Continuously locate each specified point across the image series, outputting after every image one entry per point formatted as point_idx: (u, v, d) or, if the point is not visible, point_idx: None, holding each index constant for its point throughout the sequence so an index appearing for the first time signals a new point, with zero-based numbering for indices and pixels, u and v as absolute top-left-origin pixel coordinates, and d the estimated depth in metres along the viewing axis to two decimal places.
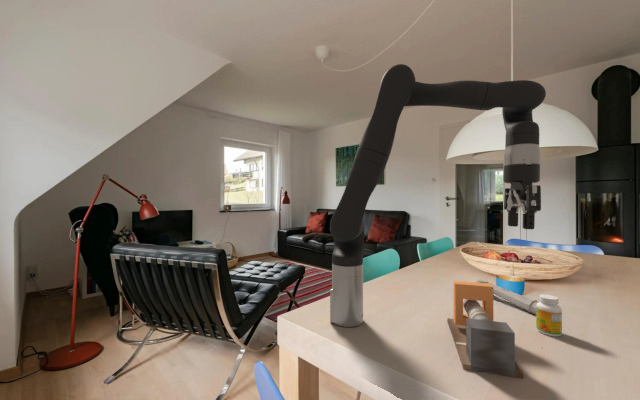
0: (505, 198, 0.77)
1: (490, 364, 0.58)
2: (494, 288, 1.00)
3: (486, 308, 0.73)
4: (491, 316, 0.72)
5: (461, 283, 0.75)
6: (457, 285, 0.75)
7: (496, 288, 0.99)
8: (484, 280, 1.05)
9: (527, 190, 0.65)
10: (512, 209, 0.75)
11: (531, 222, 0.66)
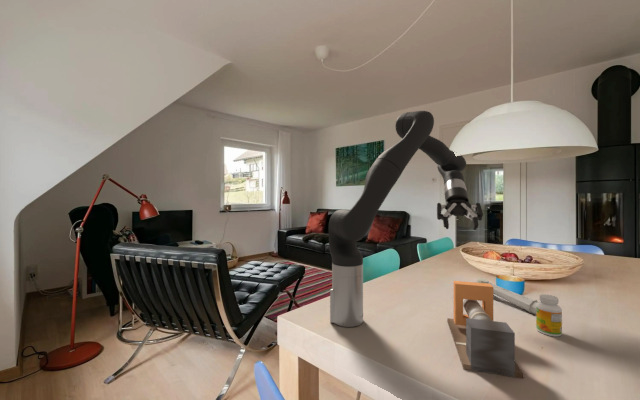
0: (439, 208, 0.98)
1: (490, 364, 0.58)
2: (494, 288, 1.00)
3: (486, 308, 0.73)
4: (491, 316, 0.72)
5: (461, 283, 0.75)
6: (457, 285, 0.75)
7: (496, 288, 0.99)
8: (484, 280, 1.05)
9: (478, 205, 0.96)
10: None
11: None
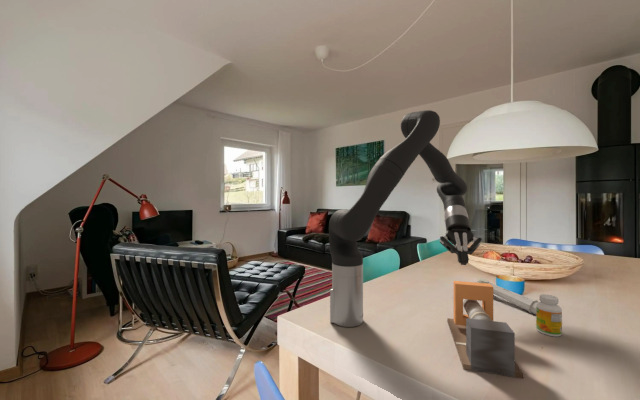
0: (447, 242, 0.91)
1: (490, 364, 0.58)
2: (495, 288, 1.00)
3: (486, 308, 0.73)
4: (491, 316, 0.72)
5: (461, 283, 0.75)
6: (457, 285, 0.75)
7: (497, 288, 0.99)
8: (485, 280, 1.05)
9: (478, 240, 0.89)
10: None
11: None
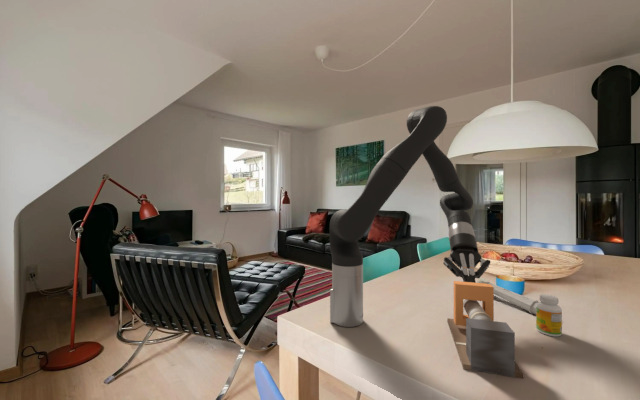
0: (452, 264, 0.82)
1: (490, 364, 0.58)
2: (495, 289, 0.99)
3: (486, 308, 0.73)
4: (491, 316, 0.72)
5: (461, 283, 0.75)
6: (457, 285, 0.75)
7: (497, 288, 0.99)
8: (485, 280, 1.05)
9: (486, 262, 0.80)
10: None
11: None
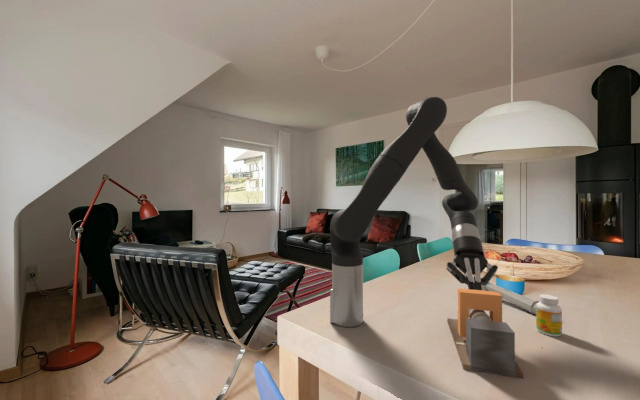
0: (456, 269, 0.76)
1: (490, 364, 0.58)
2: (496, 289, 0.99)
3: (494, 319, 0.66)
4: None
5: (466, 291, 0.69)
6: (462, 293, 0.68)
7: (497, 288, 0.99)
8: None
9: (494, 268, 0.74)
10: None
11: None
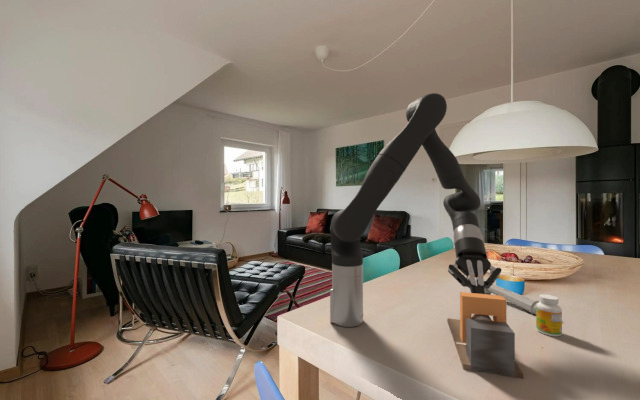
0: (458, 272, 0.73)
1: (490, 364, 0.58)
2: (496, 289, 0.99)
3: None
4: None
5: (469, 295, 0.66)
6: (464, 297, 0.65)
7: (498, 288, 0.99)
8: (485, 280, 1.05)
9: (497, 271, 0.71)
10: None
11: None
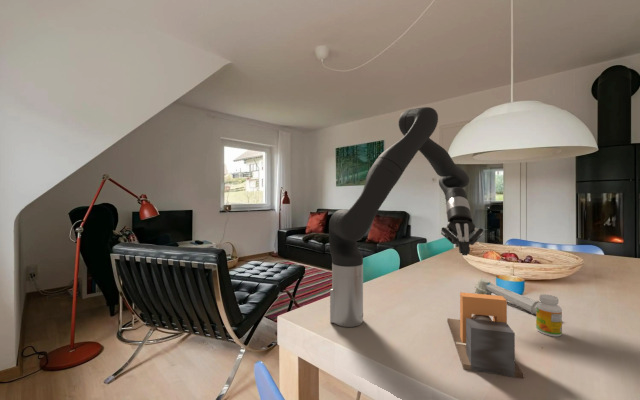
0: (448, 233, 0.91)
1: (490, 364, 0.58)
2: (496, 289, 0.99)
3: None
4: None
5: (469, 295, 0.66)
6: (465, 298, 0.65)
7: (498, 289, 0.99)
8: (486, 281, 1.04)
9: (480, 231, 0.89)
10: None
11: None
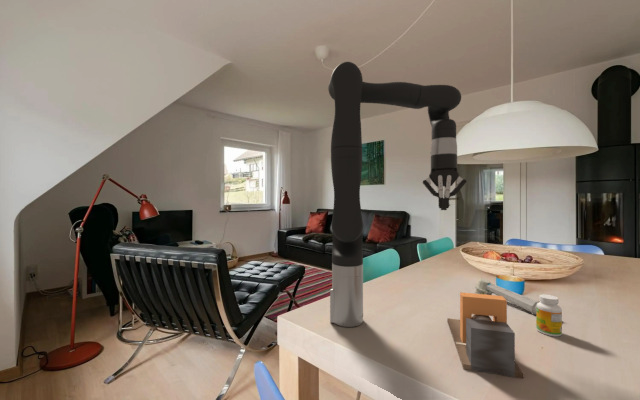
0: (430, 187, 0.86)
1: (490, 364, 0.58)
2: (497, 289, 0.99)
3: None
4: None
5: (469, 295, 0.66)
6: (465, 298, 0.65)
7: (499, 289, 0.98)
8: (486, 281, 1.04)
9: (462, 183, 0.84)
10: (442, 195, 0.86)
11: None
